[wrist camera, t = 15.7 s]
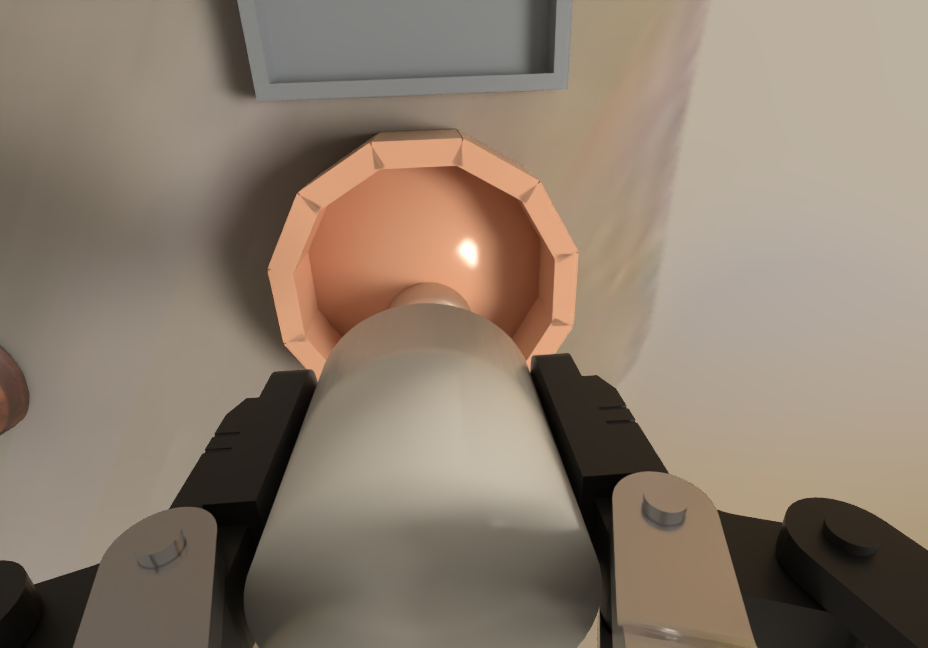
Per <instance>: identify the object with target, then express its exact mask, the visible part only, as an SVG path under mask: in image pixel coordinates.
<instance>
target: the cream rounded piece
mask: <svg viewBox="0 0 928 648" xmlns="http://www.w3.org/2000/svg"><path fill="white" fill-rule="evenodd" d="M601 596H602V576H601V570H600V564H599V562H598V559H597V556H596V553H595V551H594V548H593V545H592V542H591V540H590V537H589V534H588V531H587V529H586V526H585V523H584V520H583V517H582V515H581V512H580V509H579V506H578V504H577V501H576V498H575V495H574V493H573V490H572V487H571V484H570V482H569V479H568V476H567V473H566V470H565V468H564V465H563V462H562V459H561V457H560V454H559V451H558V448H557V446H556V443H555V440H554V437H553V434H552V432H551V429H550V426H549V423H548V421H547V418H546V415H545V412H544V410H543V407H542V404H541V401H540V399H539V396H538V393H537V390H536V387H535V385H534V382H533V379H532V376H531V374H530V371H529V368H528V366H527V363H526V360H525V358H524V356H523V355H522V353H521V351H520V349H519V348H518V346H517V345H516V344H515V343H514V341H513V340H512V339H511V338H510V337H509V336H508V335H507V334H506V333H505V332H504V331H503V330H502V329H501V328H499V327H498V326H497V325H495V324H494V323H493V322H491V321H490V320H488V319H486V318H484V317H482V316H480V315H479V314H476V313H474V312H471V311H469V310H466V309H463V308H459V307H455V306H451V305H444V304H436V303H418V304H409V305H403V306H398V307H394V308H390V309H387V310H385V311H382V312H379V313H377V314H375V315H373V316H371V317H369V318H367V319H365V320H363V321H362V322H360V323H359V324H357V325H356V326H355V327H353V328H352V329H351V330H349V331H348V332H347V333H346V334H345V335H344V336H343V337H342V338H341V339H340V340H339V342H338V343H337V344H336V345H335V347H334V348H333V349H332V351H331V353H330V354H329V356H328V358H327V360H326V362H325V364H324V367H323V369H322V372H321V375H320V378H319V380H318V383H317V386H316V388H315V391H314V394H313V397H312V399H311V402H310V405H309V408H308V410H307V413H306V416H305V419H304V421H303V424H302V427H301V430H300V432H299V435H298V438H297V441H296V443H295V446H294V449H293V452H292V454H291V457H290V460H289V462H288V465H287V468H286V471H285V473H284V476H283V479H282V482H281V484H280V487H279V490H278V493H277V495H276V498H275V501H274V504H273V506H272V509H271V512H270V515H269V517H268V520H267V523H266V526H265V528H264V531H263V534H262V536H261V539H260V542H259V545H258V547H257V550H256V553H255V556H254V558H253V561H252V564H251V567H250V569H249V572H248V575H247V578H246V583H245V589H244V612H245V617H246V621H247V625H248V628H249V630H250V632H251V634H252V637H253V639H254V641H255V642H256V644H257V645H258V647H259V648H577V647H578V645H579V644H580V643H581V642H582V641H583V639H584V638H585V636H586V635H587V633H588V631H589V630H590V628H591V626H592V625H593V622H594V620H595V618H596V615H597V613H598V610H599V605H600V601H601Z"/></svg>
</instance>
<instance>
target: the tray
mask: <svg viewBox="0 0 928 648" xmlns="http://www.w3.org/2000/svg"><path fill="white" fill-rule="evenodd" d="M237 2H238V7H239V12H240V17H241V22H242V28H243V33H244V38H245V43H246V48H247V53H248V58H249V63H250V68H251V74H252V79H253V84H254V89H255V94H256V99H257V101H275V100H301V99H326V98H352V97H378V96H403V95H429V94H454V93H480V92H506V91H531V90H557V89H568V76H569V57H570V37H571V17H572V0H237Z"/></svg>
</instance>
